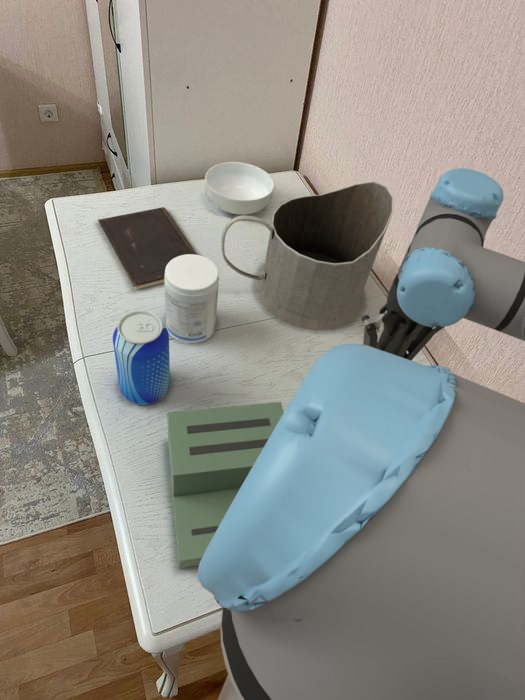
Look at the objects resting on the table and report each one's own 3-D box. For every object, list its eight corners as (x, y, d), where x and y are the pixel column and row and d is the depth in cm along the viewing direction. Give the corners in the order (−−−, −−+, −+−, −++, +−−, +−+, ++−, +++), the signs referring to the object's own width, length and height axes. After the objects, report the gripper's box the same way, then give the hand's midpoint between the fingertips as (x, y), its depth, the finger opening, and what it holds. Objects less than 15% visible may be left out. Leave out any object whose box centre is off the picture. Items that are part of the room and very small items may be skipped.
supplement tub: (186, 303, 102) (187, 245, 91) (224, 324, 99) (230, 267, 88) (155, 331, 96) (152, 273, 85) (195, 354, 94) (198, 297, 82)
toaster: (297, 551, 72) (312, 523, 65) (178, 570, 69) (179, 543, 61) (271, 437, 84) (281, 401, 76) (168, 448, 80) (167, 411, 72)
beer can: (147, 417, 84) (142, 356, 71) (109, 392, 86) (98, 328, 74) (179, 385, 89) (180, 323, 76) (143, 362, 91) (138, 298, 79)
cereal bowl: (218, 229, 119) (220, 204, 114) (194, 190, 128) (195, 165, 123) (281, 219, 125) (286, 194, 120) (254, 182, 134) (257, 158, 129)
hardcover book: (134, 293, 102) (133, 285, 100) (99, 228, 114) (97, 219, 112) (206, 275, 108) (207, 267, 106) (165, 214, 120) (165, 206, 118)
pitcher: (376, 329, 104) (421, 230, 85) (226, 341, 97) (238, 235, 78) (342, 257, 118) (373, 158, 99) (208, 262, 111) (215, 156, 92)
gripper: (454, 263, 71) (398, 366, 89) (369, 266, 68) (329, 371, 86) (478, 301, 67) (414, 401, 84) (388, 305, 64) (342, 408, 82)
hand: (371, 386), depth 85 cm, fingers closed
